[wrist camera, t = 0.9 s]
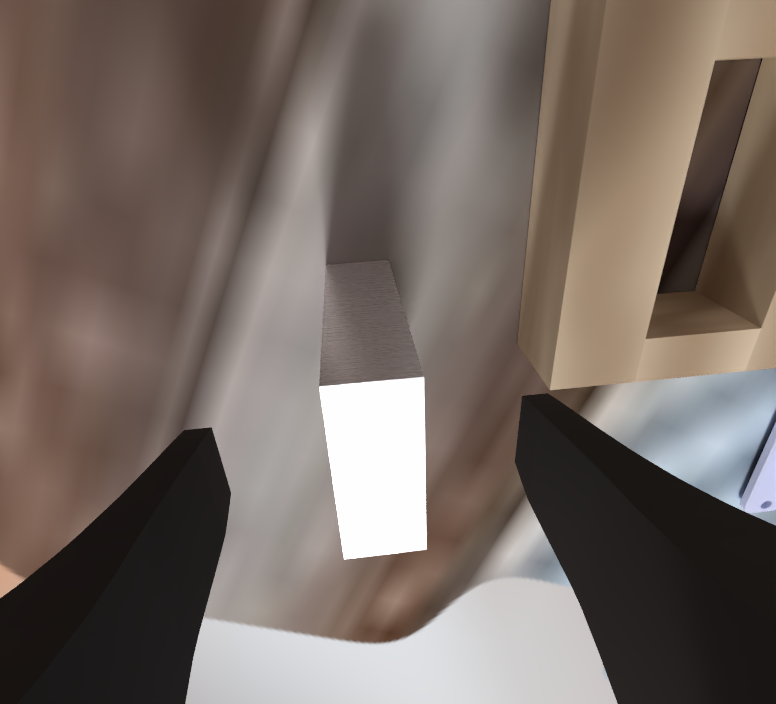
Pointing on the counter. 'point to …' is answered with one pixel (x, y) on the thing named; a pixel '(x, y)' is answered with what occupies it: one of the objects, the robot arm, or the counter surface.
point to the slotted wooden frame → (646, 196)
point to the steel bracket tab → (373, 411)
